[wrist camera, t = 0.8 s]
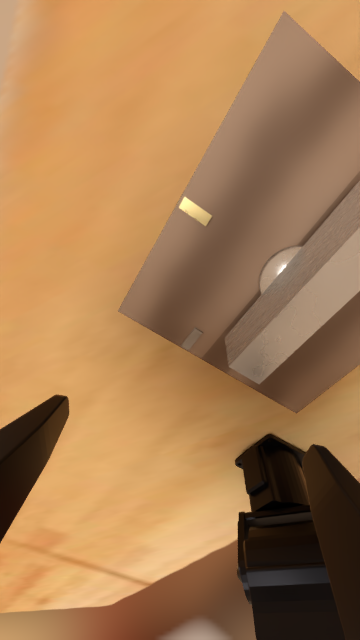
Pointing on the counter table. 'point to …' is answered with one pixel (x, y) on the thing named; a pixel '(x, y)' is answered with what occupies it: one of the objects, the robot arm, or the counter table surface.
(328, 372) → the lock plate
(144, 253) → the counter table surface
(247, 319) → the t key
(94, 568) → the counter table surface
